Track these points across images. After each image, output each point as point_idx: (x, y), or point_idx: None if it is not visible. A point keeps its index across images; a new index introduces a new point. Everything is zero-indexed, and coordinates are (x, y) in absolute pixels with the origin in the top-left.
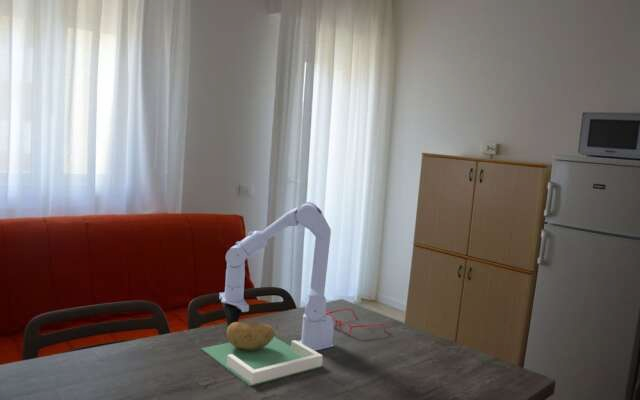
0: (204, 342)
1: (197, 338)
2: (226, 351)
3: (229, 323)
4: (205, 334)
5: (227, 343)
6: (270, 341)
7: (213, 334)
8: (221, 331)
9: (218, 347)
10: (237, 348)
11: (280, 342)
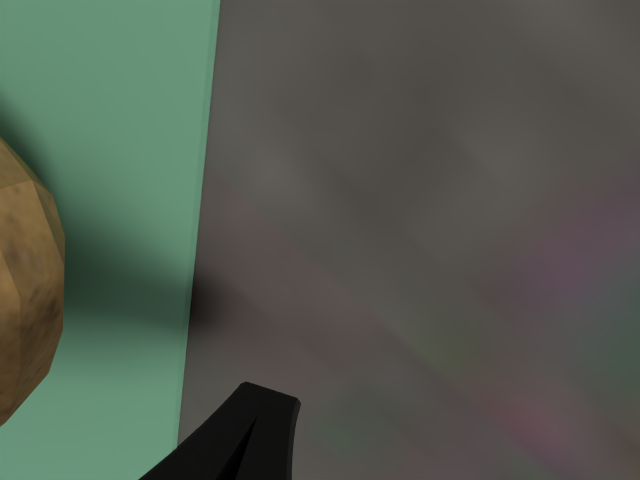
0: (415, 29)
1: (605, 48)
2: (4, 22)
3: (204, 429)
4: (611, 234)
5: (182, 194)
6: (51, 452)
7: (525, 297)
8: (516, 409)
9: (138, 28)
10: None
11: (11, 473)
